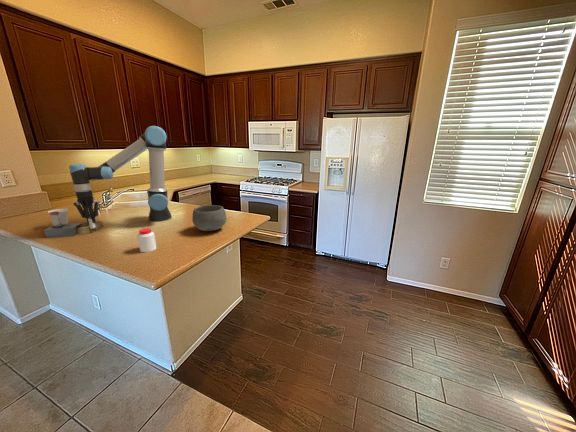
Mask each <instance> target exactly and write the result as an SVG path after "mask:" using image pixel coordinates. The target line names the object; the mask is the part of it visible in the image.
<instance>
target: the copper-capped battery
mask: <svg viewBox="0 0 576 432" xmlns="http://www.w3.org/2000/svg"><path fill="white" fill-rule="evenodd" d="M49 214H50V215H49ZM48 215H49V217H50V219H51V223H52V226H53V227H54V228H60V227H62V222H61V218H60V215H59V211H54V212H50V213H48Z"/></svg>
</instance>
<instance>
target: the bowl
mask: <svg viewBox="0 0 576 432" xmlns="http://www.w3.org/2000/svg"><path fill="white" fill-rule="evenodd" d="M191 219H192V223H193V225H194V227H195V228H197V229H198V230H200V231H203V232H213V231H217V230H220V229H221V228H222V227H224V226H225V224H226V223H227V220H228V219H227V215H226V210H225V208H224V206H222V205H216V204H213V205H212V204H204V205H200V206H197V207H194V208H193V211H192V218H191Z"/></svg>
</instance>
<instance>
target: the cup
mask: <svg viewBox="0 0 576 432" xmlns="http://www.w3.org/2000/svg"><path fill="white" fill-rule="evenodd" d="M54 211H59V215H60V218H61V222H62V224H69V209H68V208H57V209H52V210H48V211H47V213H48V215H49V216H50V214H49V213H50V212H54Z"/></svg>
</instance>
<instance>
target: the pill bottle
mask: <svg viewBox="0 0 576 432" xmlns="http://www.w3.org/2000/svg"><path fill="white" fill-rule="evenodd" d="M136 236H137V242H138V248H139V252H140V253H149V252H153V251H155V250H156V249H157V242H156V236H155V232H154V231H152V228H150V227H145V228H141V229H139V230H138V234H137V235H136Z"/></svg>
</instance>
